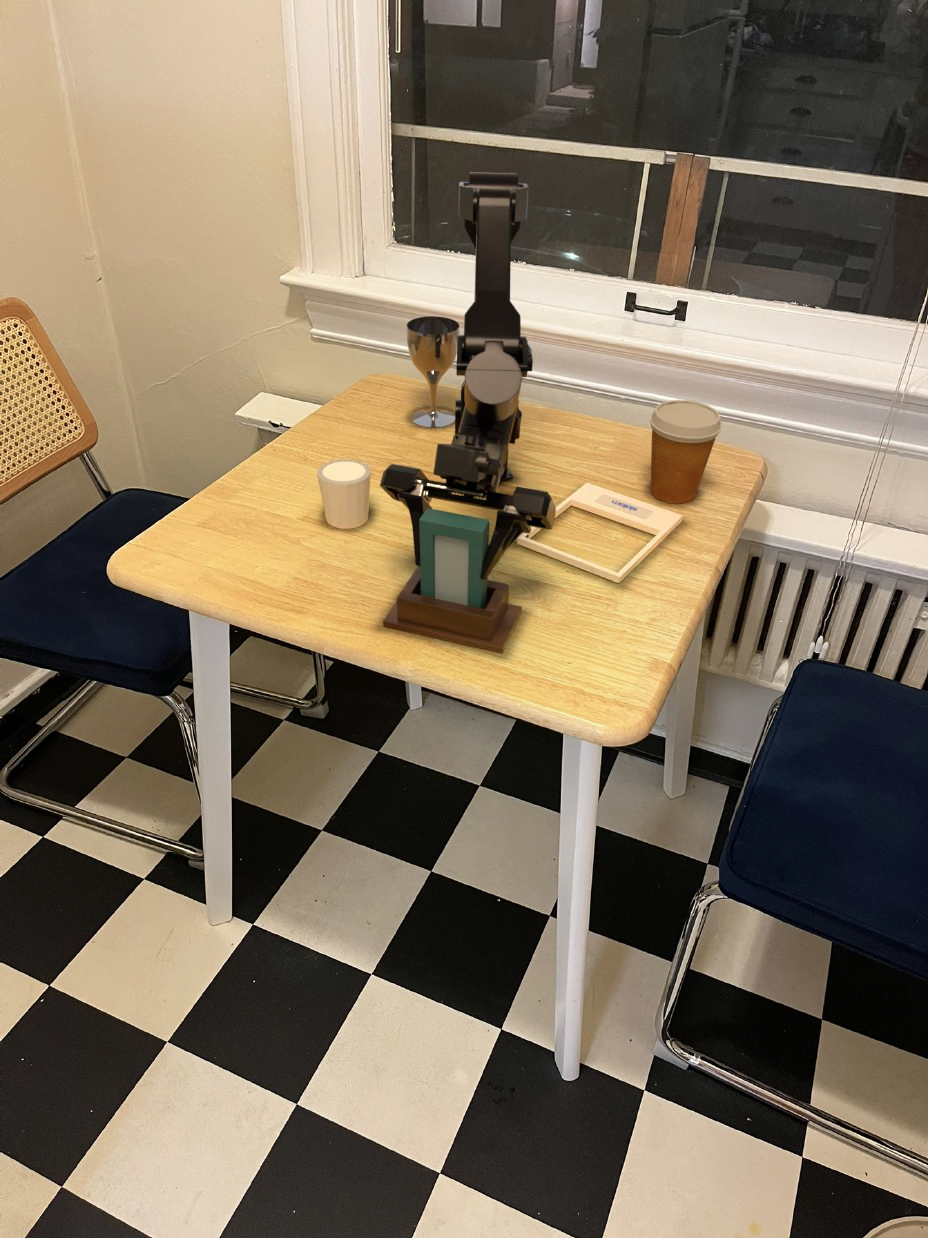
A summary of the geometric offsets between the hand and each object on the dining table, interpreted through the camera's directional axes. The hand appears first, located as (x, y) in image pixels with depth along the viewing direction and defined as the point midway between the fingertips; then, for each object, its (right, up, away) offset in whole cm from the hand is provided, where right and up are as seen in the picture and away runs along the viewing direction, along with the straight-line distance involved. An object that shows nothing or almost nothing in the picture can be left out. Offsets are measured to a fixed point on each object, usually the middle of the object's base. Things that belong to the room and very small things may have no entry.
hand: (449, 572), depth 98 cm
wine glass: (-3, +27, +48) cm, 55 cm away
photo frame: (+19, +6, +21) cm, 29 cm away
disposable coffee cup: (+31, +13, +30) cm, 45 cm away
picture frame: (0, -4, +5) cm, 7 cm away
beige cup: (-14, +8, +23) cm, 28 cm away
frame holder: (0, -5, +6) cm, 8 cm away
